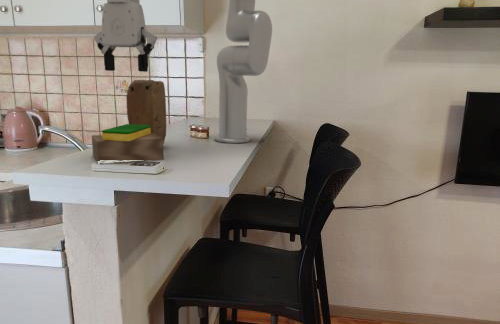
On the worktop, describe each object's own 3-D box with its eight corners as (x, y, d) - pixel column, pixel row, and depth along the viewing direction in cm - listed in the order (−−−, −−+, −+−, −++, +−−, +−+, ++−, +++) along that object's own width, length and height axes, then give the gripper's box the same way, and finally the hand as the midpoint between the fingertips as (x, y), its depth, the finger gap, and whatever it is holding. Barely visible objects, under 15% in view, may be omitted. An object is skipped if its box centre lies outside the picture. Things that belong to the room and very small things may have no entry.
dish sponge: (101, 140, 93) (101, 130, 93) (126, 132, 107) (126, 123, 106) (129, 141, 92) (129, 131, 92) (151, 133, 106) (151, 125, 105)
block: (168, 146, 118) (167, 80, 114) (155, 150, 111) (154, 80, 107) (138, 143, 121) (136, 79, 117) (124, 147, 114) (121, 79, 110)
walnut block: (153, 153, 109) (152, 132, 107) (163, 160, 100) (163, 138, 99) (93, 158, 101) (91, 135, 100) (98, 166, 92) (97, 141, 91)
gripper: (82, -4, 92) (87, 69, 95) (146, -6, 87) (148, 71, 90) (103, 2, 99) (106, 70, 102) (163, 0, 94) (164, 72, 97)
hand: (126, 71), depth 96 cm, fingers open, 9 cm apart
